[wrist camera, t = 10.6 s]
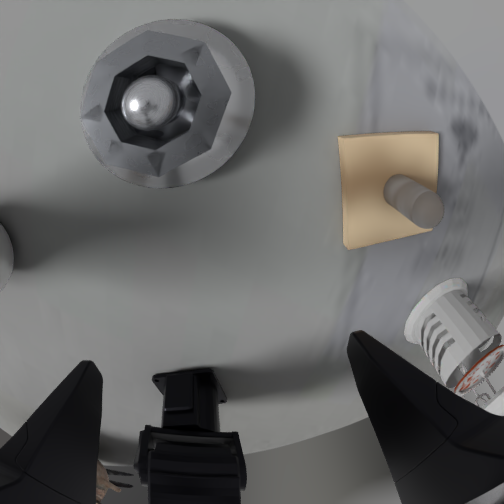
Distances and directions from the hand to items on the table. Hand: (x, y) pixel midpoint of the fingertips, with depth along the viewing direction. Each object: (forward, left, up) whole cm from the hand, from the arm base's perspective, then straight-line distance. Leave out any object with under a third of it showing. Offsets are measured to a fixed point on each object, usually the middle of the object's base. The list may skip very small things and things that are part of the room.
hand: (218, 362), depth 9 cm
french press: (-17, -22, -12) cm, 30 cm away
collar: (+8, +1, -10) cm, 13 cm away
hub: (+8, +1, -12) cm, 14 cm away
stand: (0, -13, -12) cm, 17 cm away
